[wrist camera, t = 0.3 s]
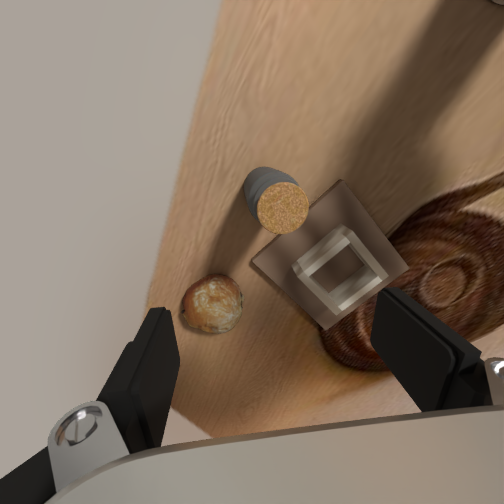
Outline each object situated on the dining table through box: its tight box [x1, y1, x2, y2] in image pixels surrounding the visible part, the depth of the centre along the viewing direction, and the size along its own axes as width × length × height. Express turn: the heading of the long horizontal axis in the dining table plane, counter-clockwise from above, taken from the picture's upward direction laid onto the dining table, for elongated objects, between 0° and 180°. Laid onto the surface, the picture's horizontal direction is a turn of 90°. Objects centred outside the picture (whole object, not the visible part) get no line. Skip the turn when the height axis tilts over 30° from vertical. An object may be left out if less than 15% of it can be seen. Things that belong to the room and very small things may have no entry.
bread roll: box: [181, 274, 244, 333], centre depth 40 cm, size 10×10×8 cm
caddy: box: [252, 179, 409, 330], centre depth 38 cm, size 18×20×5 cm
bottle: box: [244, 167, 309, 234], centre depth 28 cm, size 6×6×15 cm
